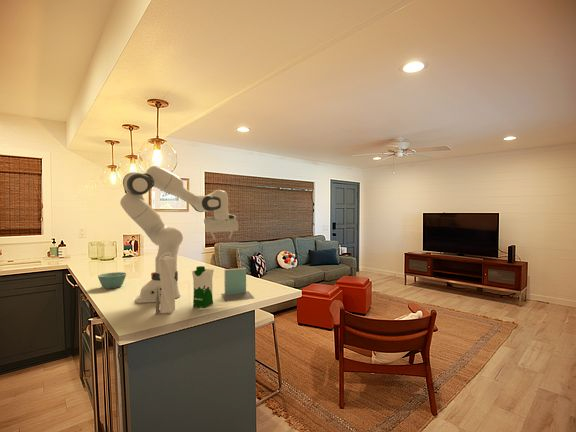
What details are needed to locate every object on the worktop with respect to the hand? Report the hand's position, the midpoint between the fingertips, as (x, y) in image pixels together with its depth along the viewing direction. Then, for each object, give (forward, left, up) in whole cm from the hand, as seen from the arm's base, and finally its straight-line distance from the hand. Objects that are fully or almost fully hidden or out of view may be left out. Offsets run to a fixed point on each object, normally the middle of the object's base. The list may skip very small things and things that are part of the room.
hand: (222, 238), depth 184 cm
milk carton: (-14, -30, -31) cm, 45 cm away
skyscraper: (-31, -33, -31) cm, 55 cm away
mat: (+5, -21, -31) cm, 38 cm away
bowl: (-65, +30, -31) cm, 78 cm away
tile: (+5, -15, -30) cm, 34 cm away
